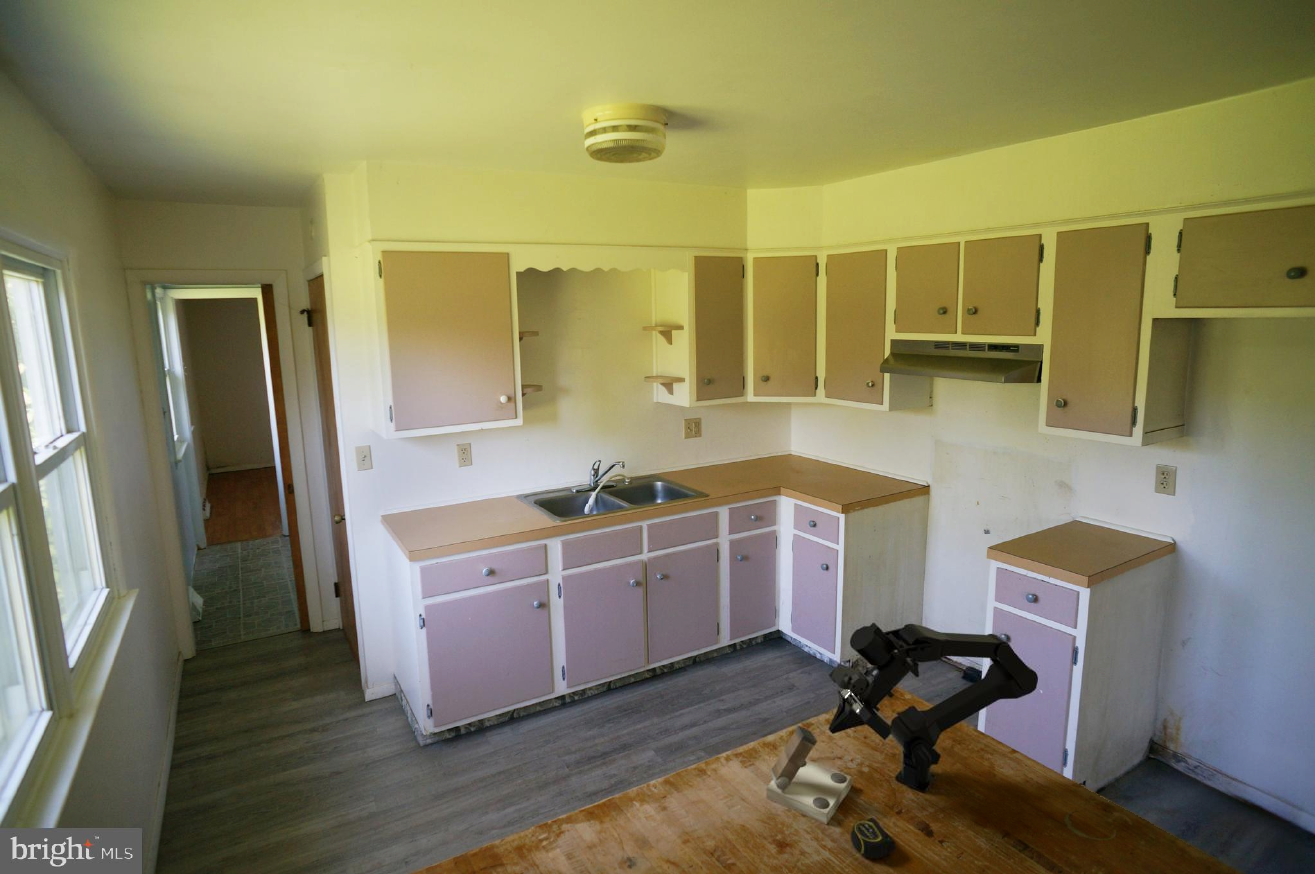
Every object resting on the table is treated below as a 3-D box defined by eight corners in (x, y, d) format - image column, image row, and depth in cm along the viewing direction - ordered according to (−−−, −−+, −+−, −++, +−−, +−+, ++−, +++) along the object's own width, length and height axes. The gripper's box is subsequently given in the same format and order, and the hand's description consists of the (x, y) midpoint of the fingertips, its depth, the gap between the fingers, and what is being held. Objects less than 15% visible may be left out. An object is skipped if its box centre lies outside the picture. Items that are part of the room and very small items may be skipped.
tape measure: (896, 857, 128) (897, 839, 127) (864, 866, 126) (865, 848, 125) (874, 831, 134) (875, 814, 133) (843, 839, 132) (844, 822, 131)
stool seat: (793, 764, 154) (794, 753, 153) (850, 787, 146) (851, 776, 146) (766, 798, 143) (766, 786, 143) (826, 824, 136) (826, 812, 135)
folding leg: (780, 780, 145) (811, 731, 144) (786, 791, 142) (817, 741, 141) (767, 775, 144) (797, 725, 143) (772, 786, 141) (803, 735, 140)
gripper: (839, 632, 149) (788, 684, 150) (879, 677, 131) (822, 736, 132) (872, 663, 152) (822, 714, 153) (916, 711, 134) (860, 769, 134)
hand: (830, 731), depth 143 cm, fingers closed
